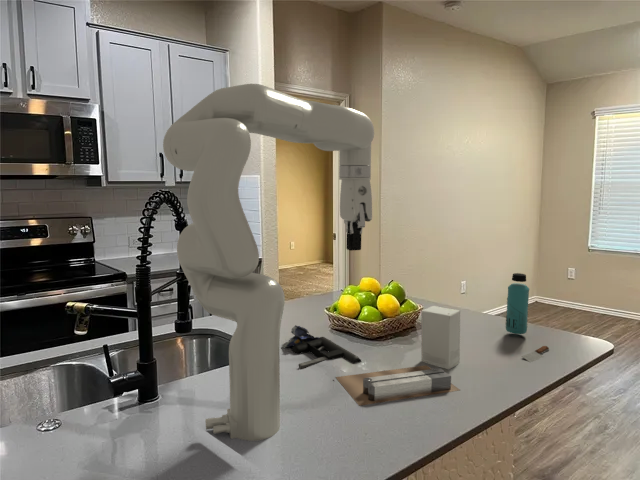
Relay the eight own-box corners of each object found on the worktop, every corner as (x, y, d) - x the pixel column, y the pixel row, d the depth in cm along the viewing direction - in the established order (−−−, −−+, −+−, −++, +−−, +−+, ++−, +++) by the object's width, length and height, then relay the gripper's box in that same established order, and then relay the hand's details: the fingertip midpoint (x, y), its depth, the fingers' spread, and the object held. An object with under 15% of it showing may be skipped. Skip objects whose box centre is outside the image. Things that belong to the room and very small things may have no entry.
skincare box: (460, 368, 123) (462, 310, 121) (447, 375, 119) (450, 315, 117) (431, 359, 129) (433, 304, 127) (418, 366, 124) (420, 309, 122)
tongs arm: (365, 395, 104) (365, 382, 104) (361, 391, 106) (361, 378, 106) (444, 384, 110) (444, 371, 110) (439, 380, 112) (440, 368, 112)
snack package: (278, 339, 146) (283, 352, 134) (282, 319, 145) (286, 330, 134) (316, 343, 148) (323, 356, 137) (319, 324, 148) (327, 335, 136)
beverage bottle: (528, 334, 150) (532, 273, 148) (524, 340, 145) (529, 276, 142) (506, 330, 154) (510, 270, 151) (502, 336, 148) (506, 274, 146)
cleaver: (535, 362, 126) (519, 353, 130) (534, 367, 127) (517, 357, 131) (561, 353, 134) (544, 344, 138) (559, 357, 134) (543, 348, 138)
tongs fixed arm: (370, 401, 101) (370, 387, 101) (366, 397, 103) (366, 383, 103) (450, 389, 108) (451, 375, 107) (445, 385, 110) (446, 372, 109)
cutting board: (359, 412, 100) (359, 405, 100) (335, 383, 114) (335, 377, 114) (460, 396, 107) (460, 390, 107) (426, 370, 122) (426, 365, 121)
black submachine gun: (312, 371, 116) (365, 355, 124) (278, 346, 133) (327, 333, 141) (313, 383, 117) (366, 367, 124) (279, 357, 134) (327, 344, 142)
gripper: (382, 173, 106) (380, 253, 108) (357, 174, 120) (356, 245, 122) (351, 173, 104) (350, 255, 106) (329, 173, 118) (329, 246, 120)
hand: (353, 249), depth 114 cm, fingers closed
